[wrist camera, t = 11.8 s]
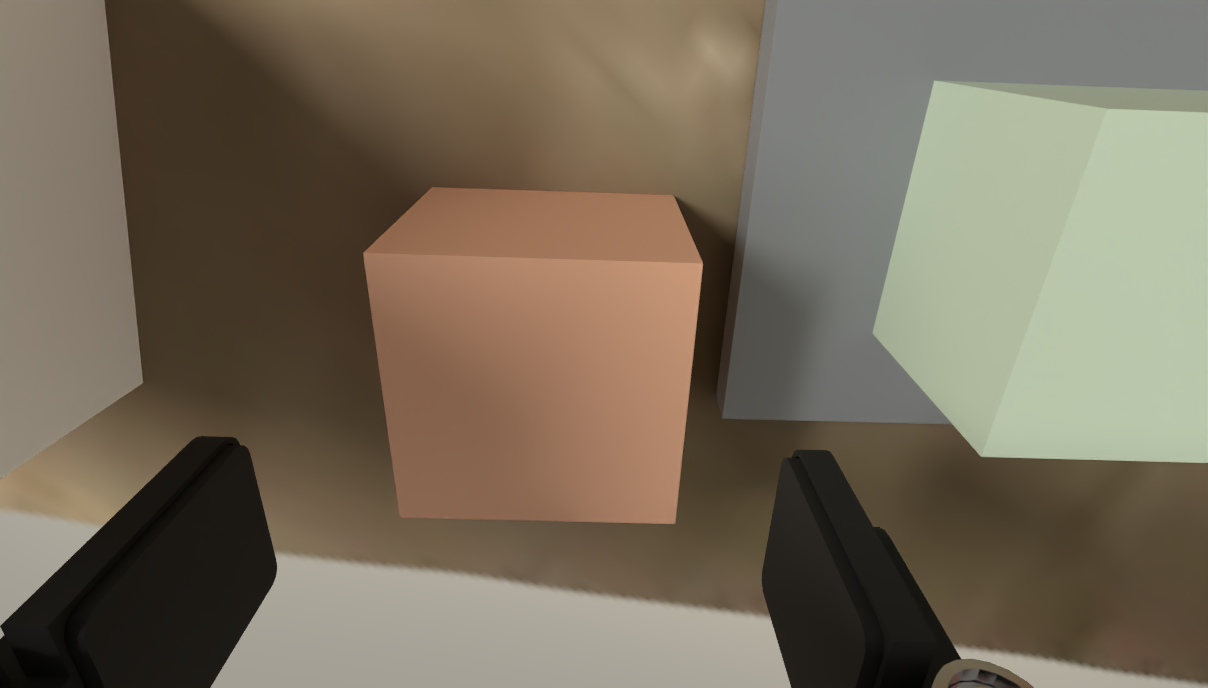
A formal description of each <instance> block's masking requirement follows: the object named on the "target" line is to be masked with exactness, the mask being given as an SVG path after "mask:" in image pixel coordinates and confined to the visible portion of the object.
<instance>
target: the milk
mask: <svg viewBox="0 0 1208 688" xmlns="http://www.w3.org/2000/svg"><path fill="white" fill-rule="evenodd" d="M142 383H143V378H142V368H141V358H140V348H139V338H138V328H137V318H136V308H135V298H134V288H133V278H132V268H131V259H130V249H129V239H128V229H127V219H126V209H125V199H124V189H123V179H122V169H121V159H120V149H119V140H118V130H117V120H116V110H115V100H114V90H113V80H112V70H111V60H110V50H109V40H108V30H107V21H106V11H105V1H104V0H0V479H1V478H3V477H4V476H6V475H7V474H9V473H10V472H12V471H13V470H15V469H16V468H18V467H19V466H21V465H22V464H24V463H25V462H27V461H28V460H29V459H31V458H32V457H34V456H35V455H37V454H38V453H40V452H41V451H43V450H44V449H46V448H47V447H49V446H50V445H52V444H53V443H55V442H56V441H58V440H59V439H61V438H62V437H64V436H65V435H67V434H68V433H70V432H71V431H73V430H74V429H76V428H77V427H79V426H80V425H81V424H83V423H84V422H86V421H87V420H89V419H90V418H92V417H93V416H95V415H96V414H98V413H99V412H101V411H102V410H104V409H105V408H107V407H108V406H110V405H111V404H113V403H114V402H116V401H117V400H119V399H120V398H122V397H123V396H125V395H126V394H128V393H129V392H130V391H132V390H133V389H135V388H136V387H138V386H139V385H141V384H142Z"/></svg>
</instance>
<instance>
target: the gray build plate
mask: <svg viewBox="0 0 1208 688" xmlns="http://www.w3.org/2000/svg"><path fill="white" fill-rule="evenodd" d="M934 81H961V82H987V83H1014V84H1041V85H1067V86H1094V87H1121V88H1147V89H1174V90H1201V91H1208V0H766V1H765V9H764V17H763V25H762V33H761V41H760V49H759V57H758V65H757V73H756V81H755V89H754V97H753V105H752V113H751V121H750V129H749V137H748V145H747V153H746V161H745V169H744V177H743V185H742V193H741V201H740V209H739V217H738V225H737V233H736V241H735V249H734V257H733V264H732V272H731V280H730V288H729V296H728V304H727V312H726V320H725V328H724V336H723V344H722V352H721V360H720V368H719V376H718V384H717V392H716V400H717V403H718V406H719V409H720V413H721V416H722V419H754V420H795V421H837V422H879V423H921V424H952V423H951V422H950V421H949V420H948V419H947V417H946V416H945V415H944V414H943V413H942V412H941V411H940V410H939V408H938V407H937V406H936V405H935V404H934V403H933V402H932V400H931V399H930V398H929V397H928V396H927V395H926V394H925V392H924V391H923V390H922V389H921V388H920V387H919V386H918V385H917V383H916V382H915V381H914V380H913V379H912V378H911V377H910V375H909V374H908V373H907V372H906V371H905V370H904V369H903V367H902V366H901V365H900V364H899V363H898V362H897V361H896V360H895V358H894V357H893V356H892V355H891V354H890V353H889V352H888V350H887V349H886V348H885V347H884V346H883V345H882V344H881V342H880V341H879V340H878V339H877V338H876V337H875V336H874V334H873V329H874V325H875V320H876V316H877V312H878V308H879V304H880V300H881V296H882V292H883V288H884V284H885V280H886V275H887V271H888V267H889V263H890V259H891V255H892V251H893V247H894V243H895V239H896V235H897V231H898V226H899V222H900V218H901V214H902V210H903V206H904V202H905V198H906V194H907V190H908V186H909V181H910V177H911V173H912V169H913V165H914V161H915V157H916V153H917V149H918V145H919V141H920V137H921V132H922V128H923V124H924V120H925V116H926V112H927V108H928V104H929V100H930V96H931V92H932V87H933V83H934Z"/></svg>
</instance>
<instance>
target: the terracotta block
mask: <svg viewBox="0 0 1208 688" xmlns="http://www.w3.org/2000/svg"><path fill="white" fill-rule="evenodd" d="M363 257H364V264H365V271H366V279H367V286H368V293H369V300H370V307H371V314H372V322H373V329H374V336H375V343H376V350H377V358H378V365H379V372H380V379H381V386H382V394H383V401H384V408H385V415H386V422H387V430H388V437H389V444H390V451H391V458H392V466H393V473H394V480H395V487H396V494H397V501H398V509H399V516H400V518H436V519H480V520H523V521H567V522H610V523H654V524H675V520H676V511H677V501H678V492H679V483H680V473H681V464H682V455H683V446H684V436H685V427H686V418H687V408H688V399H689V390H690V380H691V371H692V362H693V353H694V343H695V334H696V325H697V315H698V306H699V297H700V288H701V278H702V269H703V262H702V260H701V258H700V255H699V253H698V251H697V248H696V246H695V244H694V241H693V239H692V237H691V234H690V232H689V230H688V227H687V225H686V223H685V220H684V218H683V216H682V214H681V211H680V209H679V207H678V204H677V202H676V200H675V197H674V195H652V194H622V193H592V192H561V191H531V190H501V189H471V188H441V187H432V188H431V189H430V190H429V191H428V192H427V193H426V194H424V195H423V196H422V197H421V198H420V199H419V200H418V201H417V202H416V203H415V204H414V205H413V206H412V207H411V208H410V209H409V210H408V211H407V212H406V213H405V214H403V215H402V216H401V217H400V218H399V219H398V220H397V221H396V222H395V223H394V224H393V225H392V226H391V227H390V228H389V229H388V230H387V231H386V232H385V233H383V234H382V235H381V236H380V237H379V238H378V239H377V240H376V241H375V242H374V243H373V244H372V245H371V246H370V247H369V248H368V249H367V250H366V251H365V252H364V253H363Z"/></svg>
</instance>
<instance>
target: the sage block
mask: <svg viewBox="0 0 1208 688" xmlns="http://www.w3.org/2000/svg"><path fill="white" fill-rule="evenodd" d="M873 334H874V336H875V337H876V338H877V339H878V340H879V341H880V342H881V344H882V345H883V346H884V347H885V348H886V349H887V350H888V352H889V353H890V354H891V355H892V356H893V357H894V358H895V360H896V361H897V362H898V363H899V364H900V365H901V366H902V367H903V369H904V370H905V371H906V372H907V373H908V374H909V375H910V377H911V378H912V379H913V380H914V381H915V382H916V383H917V385H918V386H919V387H920V388H921V389H922V390H923V391H924V392H925V394H926V395H927V396H928V397H929V398H930V399H931V400H932V402H933V403H934V404H935V405H936V406H937V407H938V408H939V410H940V411H941V412H942V413H943V414H944V415H945V416H946V417H947V419H948V420H949V421H950V422H951V423H952V424H953V425H954V427H955V428H956V429H957V430H958V431H959V432H960V433H961V435H962V436H963V437H964V438H965V439H966V440H967V441H968V442H969V444H970V445H971V446H972V447H973V448H974V449H975V450H976V452H977V453H978V454H979V455H980V456H981V457H1008V458H1045V459H1082V460H1118V461H1155V462H1192V463H1208V91H1201V90H1174V89H1147V88H1121V87H1094V86H1067V85H1041V84H1014V83H987V82H961V81H934V83H933V87H932V92H931V96H930V100H929V104H928V108H927V112H926V116H925V120H924V124H923V128H922V132H921V137H920V141H919V145H918V149H917V153H916V157H915V161H914V165H913V169H912V173H911V177H910V181H909V186H908V190H907V194H906V198H905V202H904V206H903V210H902V214H901V218H900V222H899V226H898V231H897V235H896V239H895V243H894V247H893V251H892V255H891V259H890V263H889V267H888V271H887V275H886V280H885V284H884V288H883V292H882V296H881V300H880V304H879V308H878V312H877V316H876V320H875V325H874V329H873Z"/></svg>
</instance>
